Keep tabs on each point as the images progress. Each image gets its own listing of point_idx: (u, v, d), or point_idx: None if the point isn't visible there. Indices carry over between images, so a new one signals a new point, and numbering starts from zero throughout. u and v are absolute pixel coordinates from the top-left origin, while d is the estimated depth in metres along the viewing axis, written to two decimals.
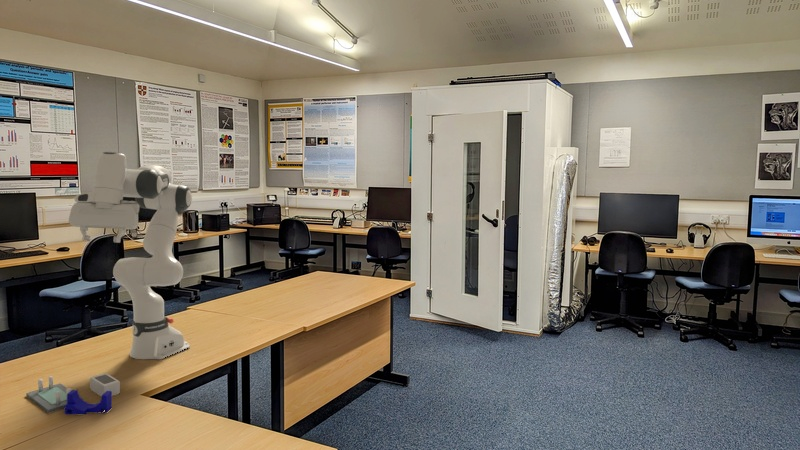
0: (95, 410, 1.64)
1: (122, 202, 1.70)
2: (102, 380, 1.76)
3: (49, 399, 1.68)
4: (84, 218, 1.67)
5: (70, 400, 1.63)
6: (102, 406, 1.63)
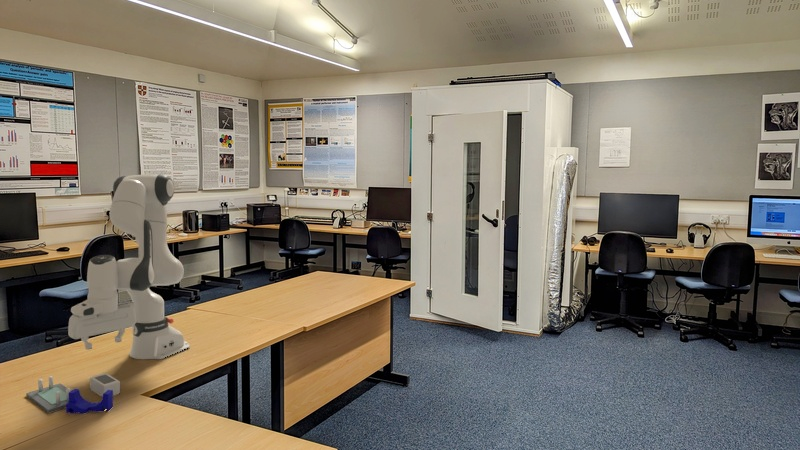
0: (96, 409, 1.64)
1: (119, 304, 1.78)
2: (102, 380, 1.76)
3: (49, 399, 1.68)
4: (88, 329, 1.69)
5: (71, 399, 1.64)
6: (104, 405, 1.64)
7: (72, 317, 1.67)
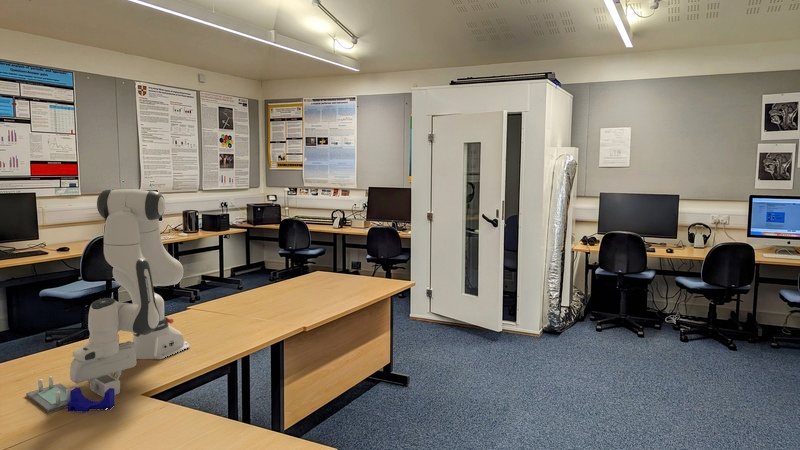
0: (98, 407, 1.65)
1: (120, 346, 1.80)
2: (102, 380, 1.76)
3: (49, 399, 1.68)
4: (90, 373, 1.71)
5: (73, 397, 1.65)
6: (105, 403, 1.65)
7: (74, 361, 1.69)
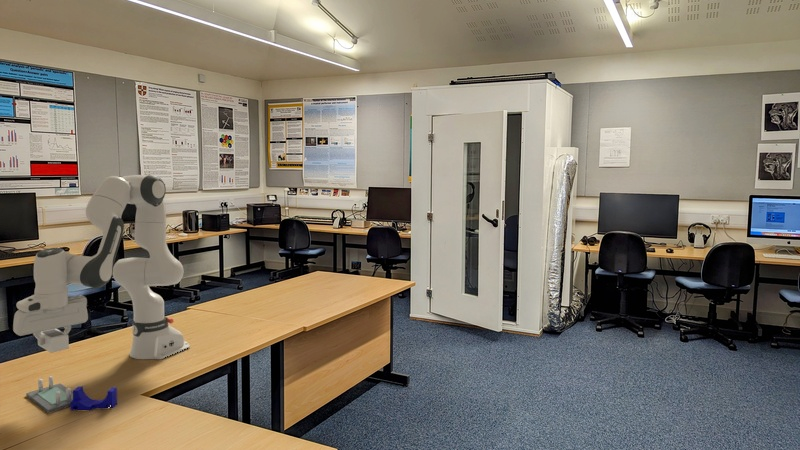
0: (101, 406, 1.66)
1: (69, 299, 1.70)
2: (49, 334, 1.66)
3: (49, 399, 1.68)
4: (35, 325, 1.62)
5: (76, 396, 1.65)
6: (108, 402, 1.66)
7: (17, 312, 1.60)
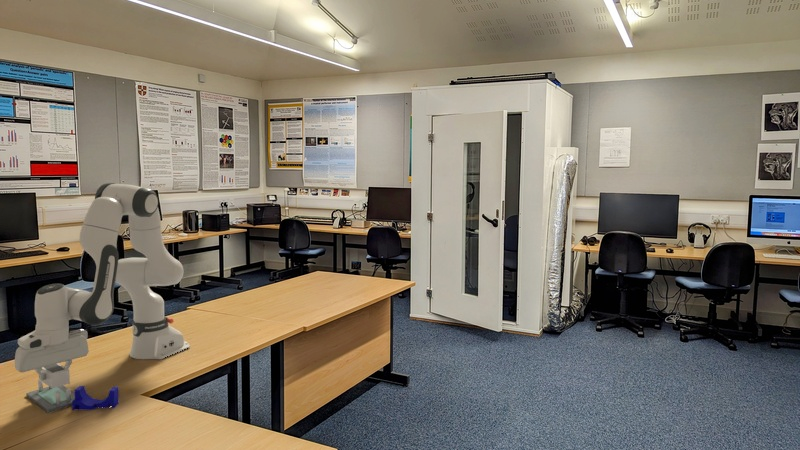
0: (102, 405, 1.67)
1: (70, 334, 1.72)
2: (50, 369, 1.68)
3: (49, 399, 1.68)
4: (36, 361, 1.63)
5: (77, 396, 1.66)
6: (110, 401, 1.67)
7: (18, 349, 1.61)
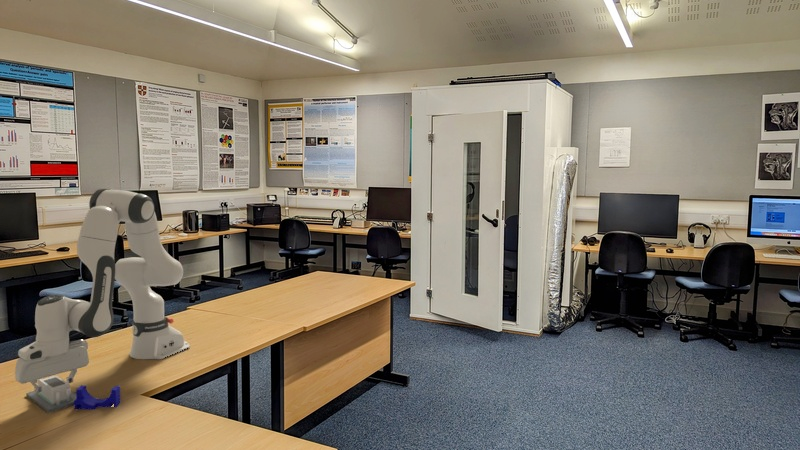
0: (104, 405, 1.67)
1: (70, 344, 1.72)
2: (51, 383, 1.69)
3: None
4: (37, 372, 1.64)
5: (79, 395, 1.66)
6: (112, 400, 1.67)
7: (19, 360, 1.62)
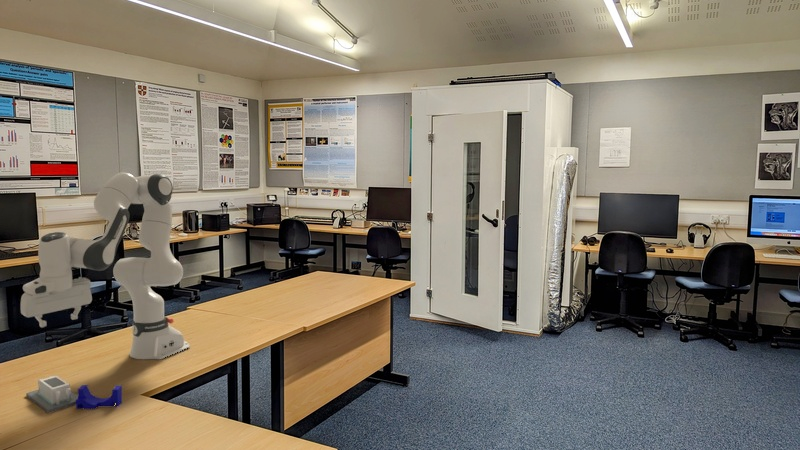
0: (106, 404, 1.68)
1: (74, 282, 1.76)
2: (51, 383, 1.69)
3: None
4: (42, 307, 1.68)
5: (81, 395, 1.67)
6: (113, 400, 1.68)
7: (24, 295, 1.65)
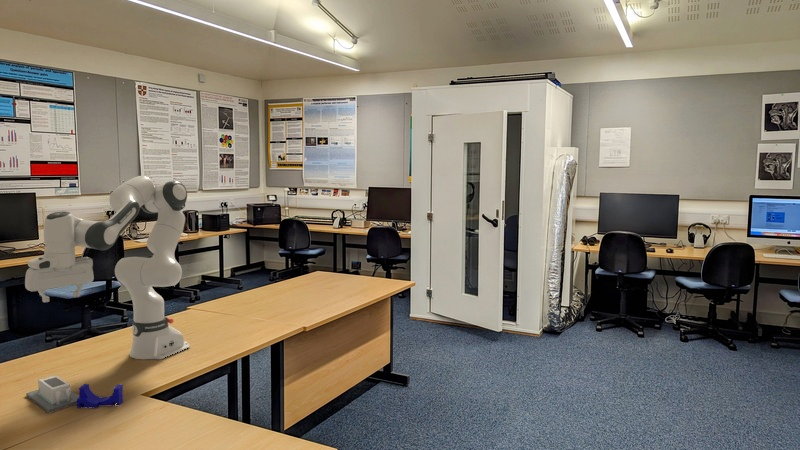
0: (107, 403, 1.68)
1: (76, 260, 1.83)
2: (51, 383, 1.69)
3: None
4: (45, 282, 1.74)
5: (82, 394, 1.67)
6: (114, 399, 1.68)
7: (29, 270, 1.72)
